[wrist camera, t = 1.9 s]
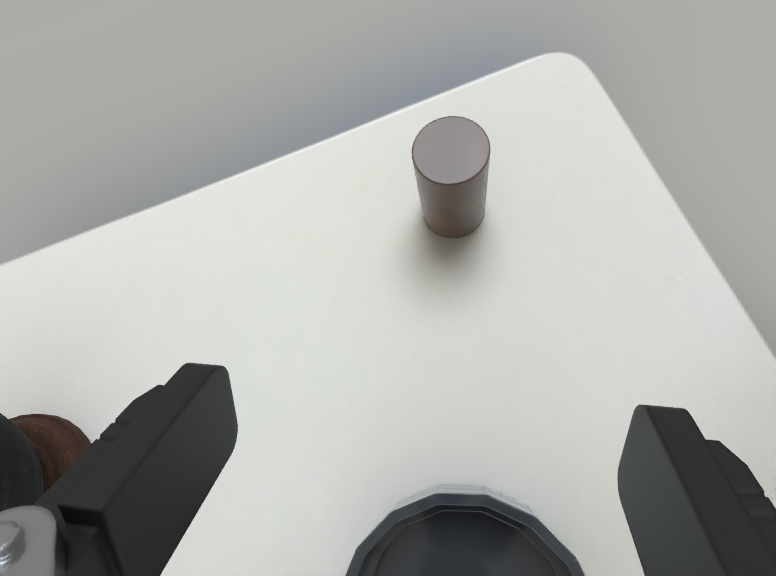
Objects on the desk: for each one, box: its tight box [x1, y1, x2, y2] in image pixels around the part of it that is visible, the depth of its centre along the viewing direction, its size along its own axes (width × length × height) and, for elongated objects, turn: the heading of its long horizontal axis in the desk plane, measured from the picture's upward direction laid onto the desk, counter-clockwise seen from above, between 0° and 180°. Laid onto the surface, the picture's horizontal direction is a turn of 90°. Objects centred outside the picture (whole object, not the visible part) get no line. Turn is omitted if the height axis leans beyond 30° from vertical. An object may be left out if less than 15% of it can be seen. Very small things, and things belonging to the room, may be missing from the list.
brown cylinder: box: [412, 116, 490, 238], centre depth 31 cm, size 4×4×8 cm
